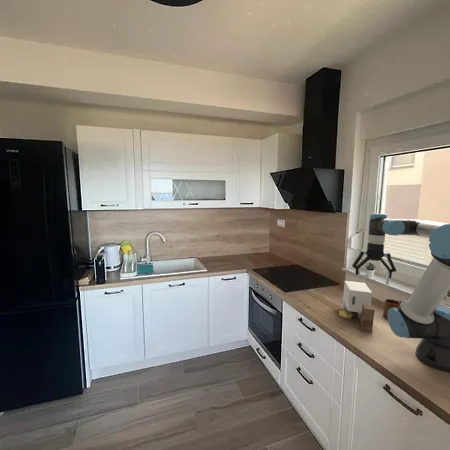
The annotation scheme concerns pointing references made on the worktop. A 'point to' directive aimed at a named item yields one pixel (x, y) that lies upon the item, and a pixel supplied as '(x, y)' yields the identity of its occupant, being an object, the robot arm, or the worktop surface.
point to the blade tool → (366, 318)
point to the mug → (390, 306)
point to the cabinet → (356, 296)
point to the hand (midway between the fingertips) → (372, 282)
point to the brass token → (345, 314)
